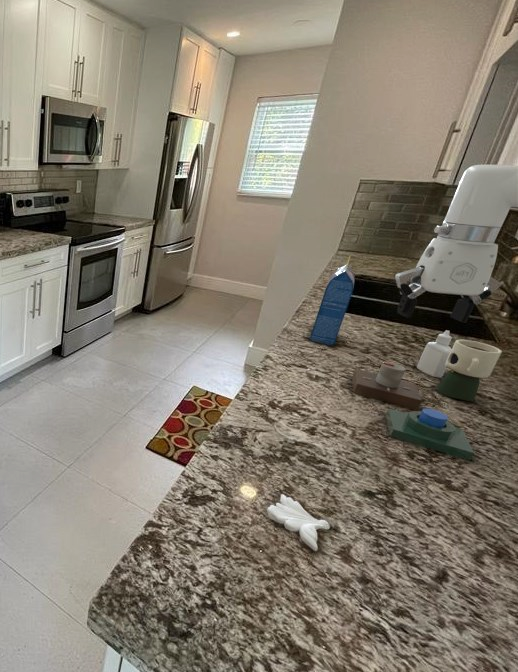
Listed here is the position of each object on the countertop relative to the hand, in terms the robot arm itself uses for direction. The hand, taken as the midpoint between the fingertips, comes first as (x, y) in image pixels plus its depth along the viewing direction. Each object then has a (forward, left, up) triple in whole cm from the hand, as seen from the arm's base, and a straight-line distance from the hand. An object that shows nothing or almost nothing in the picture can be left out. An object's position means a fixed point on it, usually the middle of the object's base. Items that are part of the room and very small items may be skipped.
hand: (430, 317), depth 84 cm
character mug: (-12, -14, -21) cm, 28 cm away
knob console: (+2, -4, -21) cm, 21 cm away
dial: (+2, -4, -18) cm, 18 cm away
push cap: (-3, +12, -17) cm, 21 cm away
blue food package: (+13, -35, -21) cm, 43 cm away
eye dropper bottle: (-9, -26, -21) cm, 34 cm away
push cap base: (-3, +12, -21) cm, 24 cm away
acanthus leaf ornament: (+16, +52, -21) cm, 59 cm away
